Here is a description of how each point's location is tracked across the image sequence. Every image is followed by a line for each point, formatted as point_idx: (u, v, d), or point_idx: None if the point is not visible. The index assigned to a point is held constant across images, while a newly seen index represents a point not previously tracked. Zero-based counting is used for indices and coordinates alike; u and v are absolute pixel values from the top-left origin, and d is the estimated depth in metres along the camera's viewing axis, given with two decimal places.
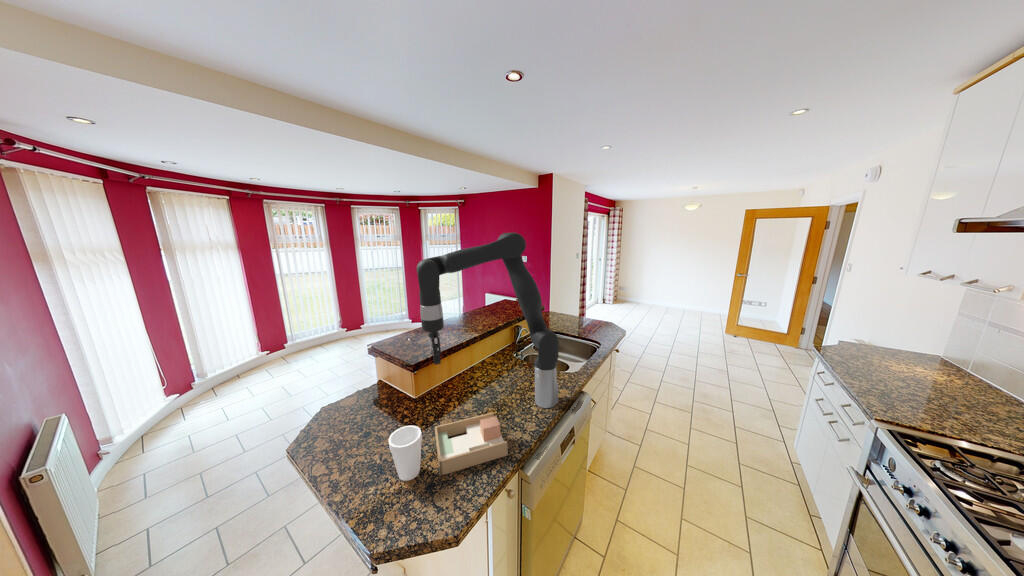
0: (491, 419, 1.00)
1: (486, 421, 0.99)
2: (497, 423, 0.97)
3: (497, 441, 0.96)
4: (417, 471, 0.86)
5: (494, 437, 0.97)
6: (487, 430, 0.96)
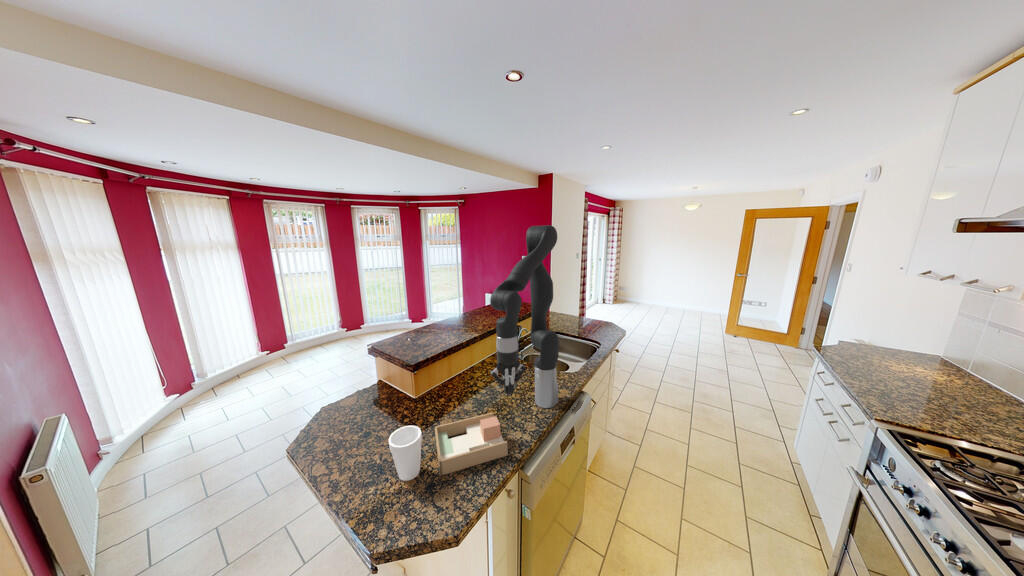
0: (491, 419, 1.00)
1: (486, 421, 0.99)
2: (497, 423, 0.97)
3: (497, 441, 0.96)
4: (417, 471, 0.86)
5: (494, 437, 0.97)
6: (487, 430, 0.96)
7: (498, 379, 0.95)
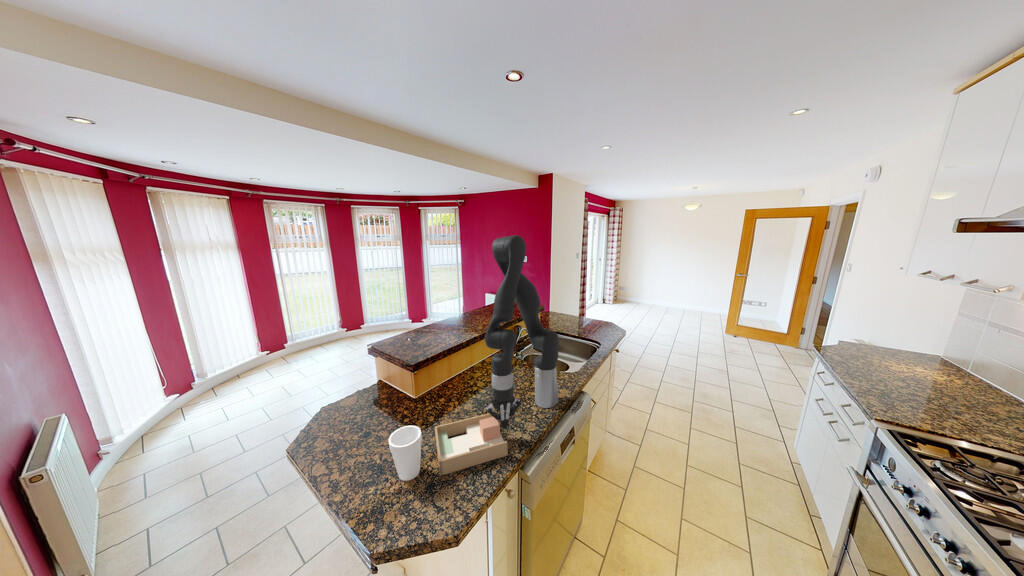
0: (490, 419, 1.00)
1: (485, 421, 0.99)
2: (496, 423, 0.97)
3: (497, 441, 0.96)
4: (417, 471, 0.86)
5: (493, 437, 0.97)
6: (486, 430, 0.96)
7: (494, 415, 0.97)
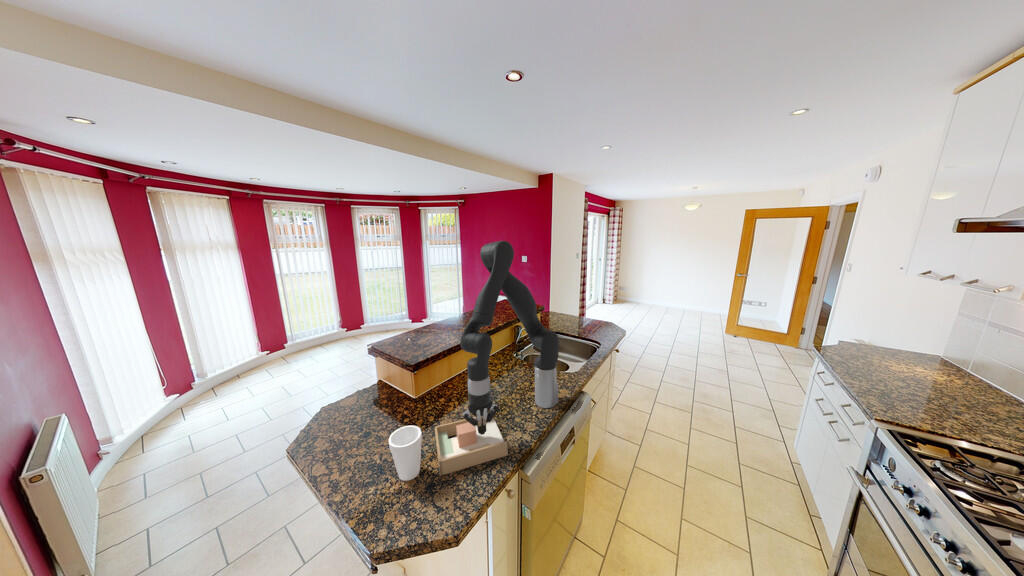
0: (467, 425, 0.97)
1: (462, 427, 0.96)
2: (473, 429, 0.95)
3: (497, 441, 0.96)
4: (417, 471, 0.86)
5: (470, 443, 0.95)
6: (462, 436, 0.93)
7: (470, 420, 0.94)
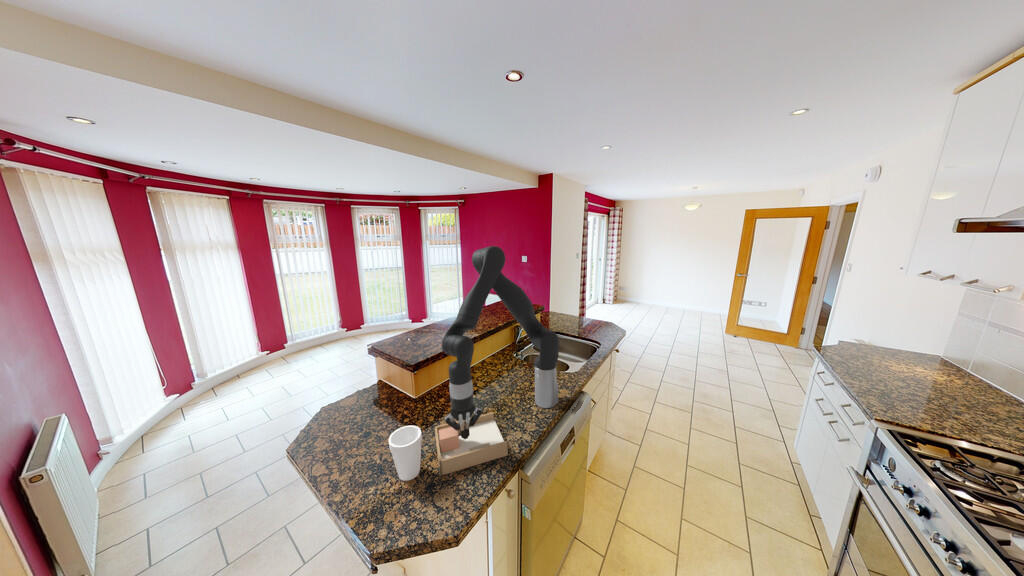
0: (450, 429, 0.95)
1: (445, 431, 0.94)
2: (456, 433, 0.93)
3: (497, 441, 0.96)
4: (417, 471, 0.86)
5: (452, 448, 0.93)
6: (444, 441, 0.91)
7: (452, 425, 0.92)
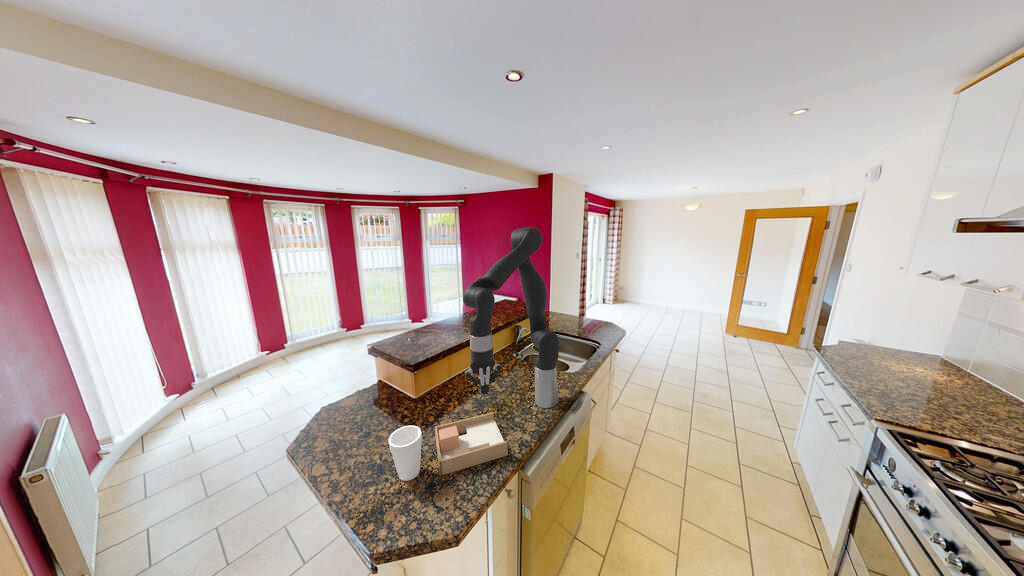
0: (450, 429, 0.95)
1: (445, 431, 0.94)
2: (456, 433, 0.93)
3: (497, 441, 0.96)
4: (417, 471, 0.86)
5: (452, 448, 0.93)
6: (444, 441, 0.91)
7: (473, 379, 0.92)
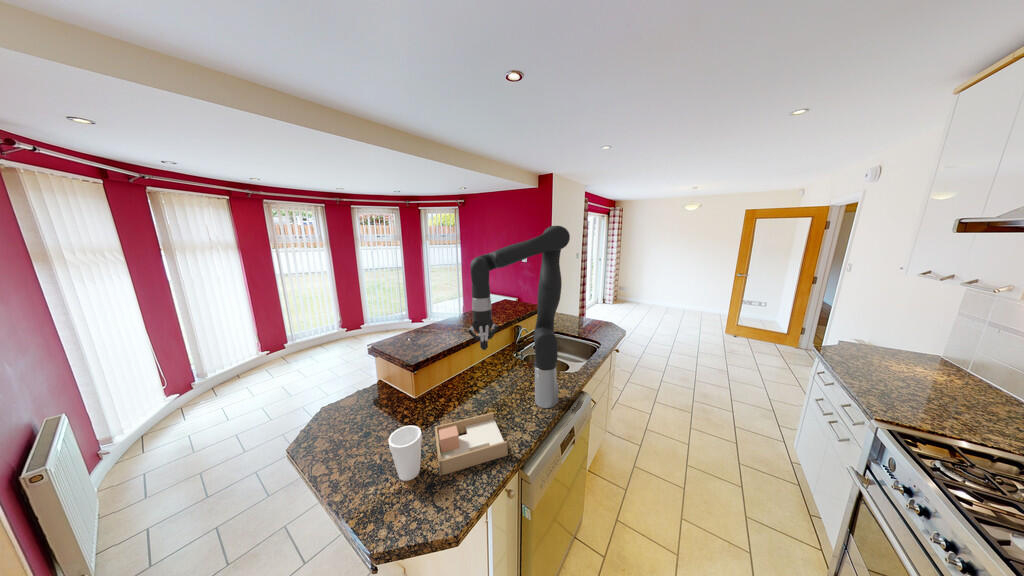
0: (450, 429, 0.95)
1: (445, 431, 0.94)
2: (456, 433, 0.93)
3: (497, 441, 0.96)
4: (417, 471, 0.86)
5: (452, 448, 0.93)
6: (444, 441, 0.91)
7: (474, 335, 1.09)
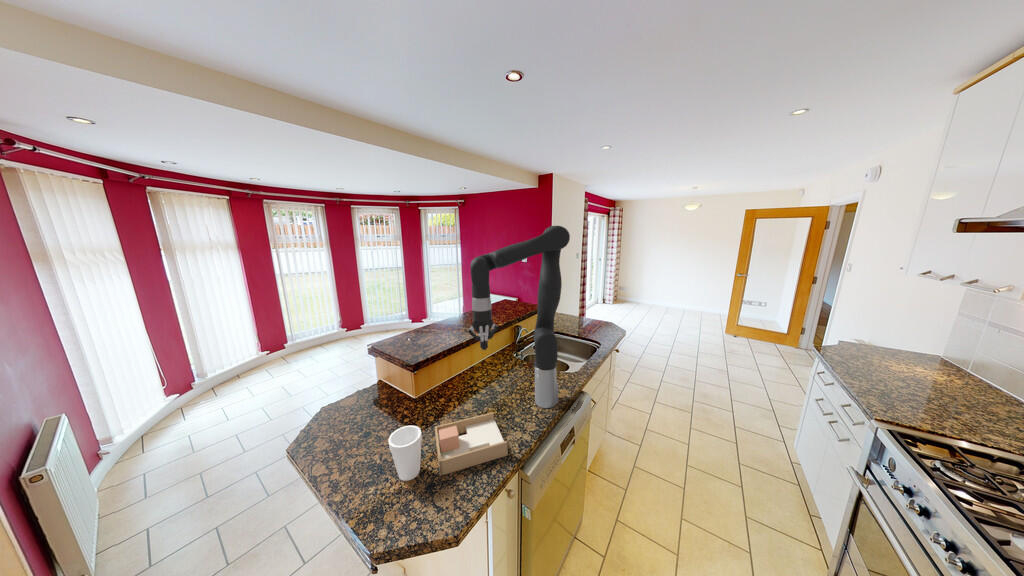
0: (450, 429, 0.95)
1: (445, 431, 0.94)
2: (456, 433, 0.93)
3: (497, 441, 0.96)
4: (417, 471, 0.86)
5: (452, 448, 0.93)
6: (444, 441, 0.91)
7: (474, 335, 1.09)
